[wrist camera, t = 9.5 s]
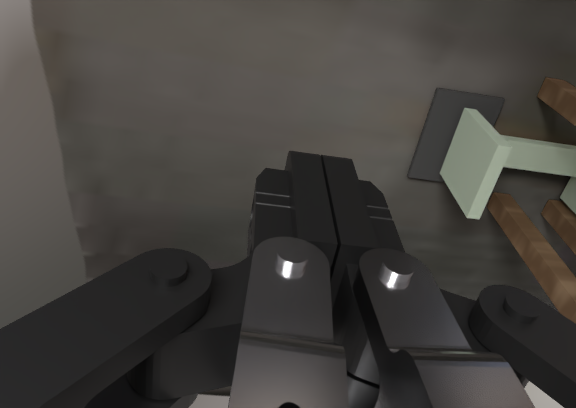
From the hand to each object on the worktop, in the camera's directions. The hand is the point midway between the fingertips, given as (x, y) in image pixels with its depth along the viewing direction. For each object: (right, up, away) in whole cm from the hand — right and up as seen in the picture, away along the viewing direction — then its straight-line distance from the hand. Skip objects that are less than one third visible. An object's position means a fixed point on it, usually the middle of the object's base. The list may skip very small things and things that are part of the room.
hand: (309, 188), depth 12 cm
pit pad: (+13, +5, +29) cm, 33 cm away
